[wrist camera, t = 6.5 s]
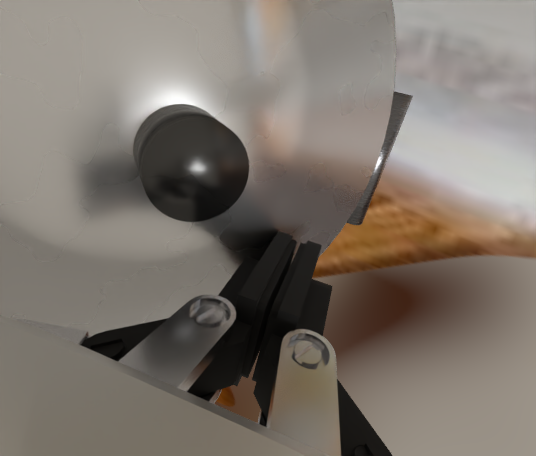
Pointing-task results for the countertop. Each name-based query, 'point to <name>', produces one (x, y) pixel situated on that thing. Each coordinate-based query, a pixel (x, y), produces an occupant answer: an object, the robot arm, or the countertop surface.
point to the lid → (180, 144)
